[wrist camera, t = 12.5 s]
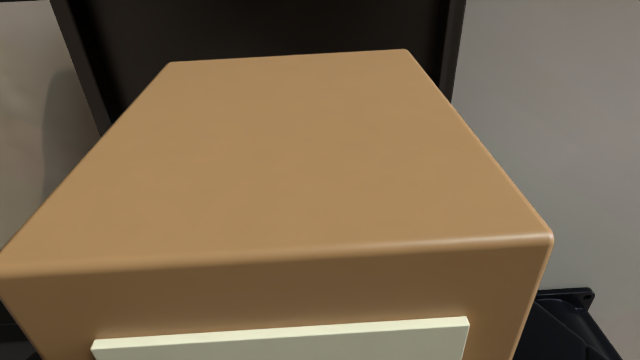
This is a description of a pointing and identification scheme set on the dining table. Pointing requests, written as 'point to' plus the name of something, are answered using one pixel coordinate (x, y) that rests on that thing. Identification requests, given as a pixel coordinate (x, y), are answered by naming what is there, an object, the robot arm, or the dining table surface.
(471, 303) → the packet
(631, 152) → the dining table surface
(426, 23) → the tray
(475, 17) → the dining table surface
